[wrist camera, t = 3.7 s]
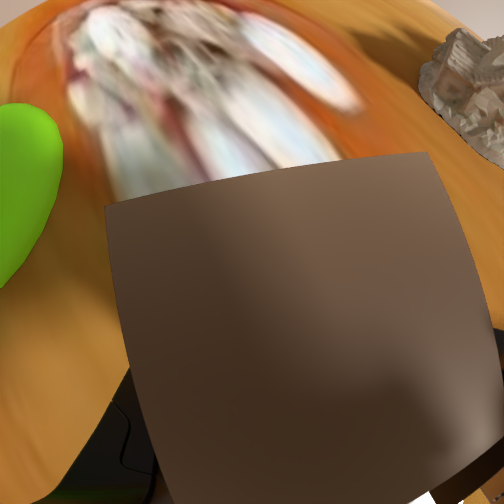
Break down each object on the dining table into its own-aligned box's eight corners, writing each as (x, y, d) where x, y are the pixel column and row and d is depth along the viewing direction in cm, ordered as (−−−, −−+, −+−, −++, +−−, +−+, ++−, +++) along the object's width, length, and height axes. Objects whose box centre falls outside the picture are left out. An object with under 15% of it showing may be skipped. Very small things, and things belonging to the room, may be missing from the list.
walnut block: (293, 379, 15) (508, 431, 3) (214, 401, 14) (205, 570, 2) (272, 303, 16) (426, 151, 4) (193, 322, 15) (104, 205, 3)
